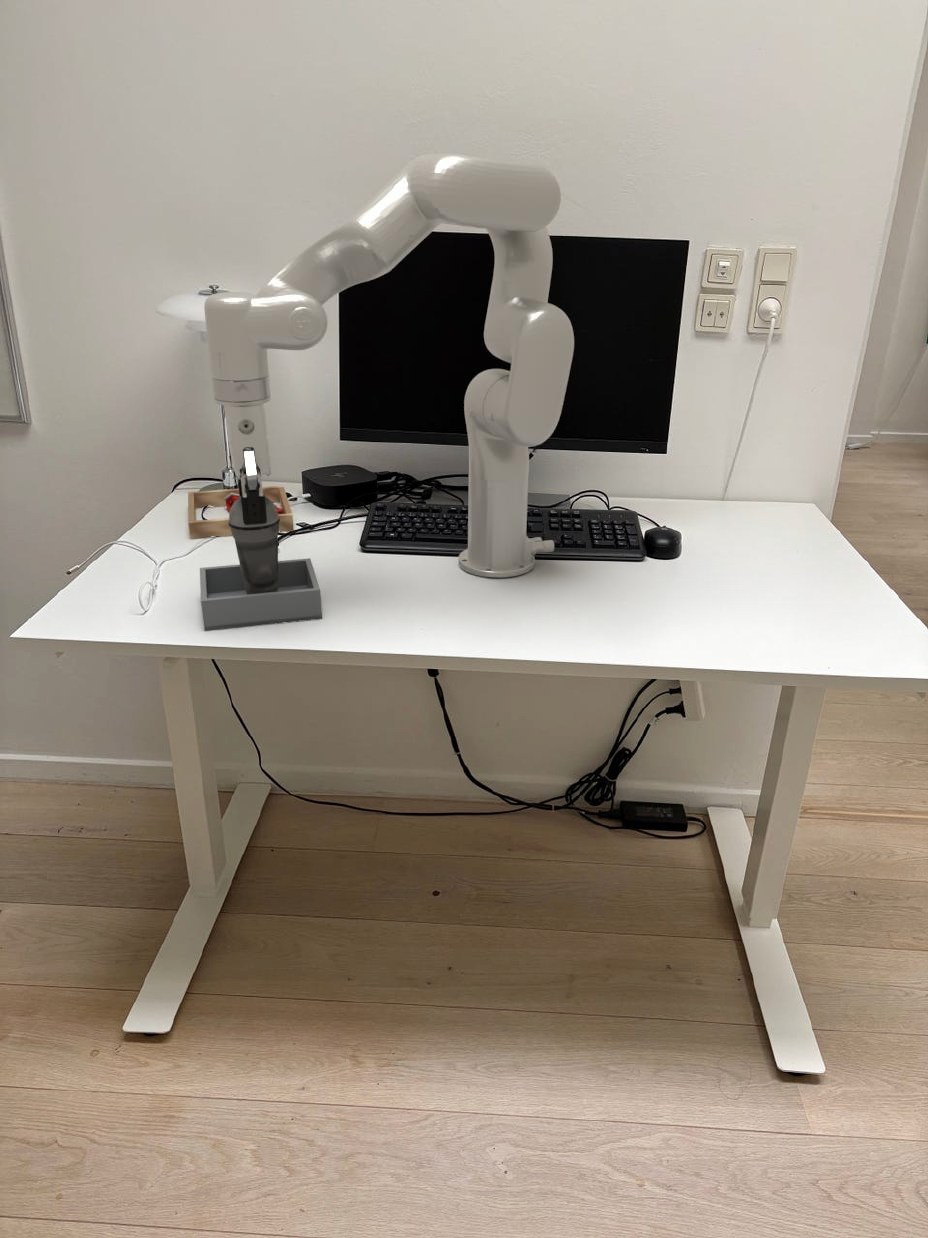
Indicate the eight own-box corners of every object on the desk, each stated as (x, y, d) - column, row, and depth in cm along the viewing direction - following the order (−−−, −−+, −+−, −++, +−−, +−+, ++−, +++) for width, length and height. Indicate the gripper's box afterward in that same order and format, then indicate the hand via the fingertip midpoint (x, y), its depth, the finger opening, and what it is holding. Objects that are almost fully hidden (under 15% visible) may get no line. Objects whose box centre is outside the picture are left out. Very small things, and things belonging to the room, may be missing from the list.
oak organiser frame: (284, 500, 189) (283, 485, 187) (293, 530, 173) (292, 515, 172) (189, 507, 184) (188, 492, 183) (190, 539, 169) (188, 522, 167)
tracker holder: (289, 503, 184) (277, 508, 174) (284, 526, 185) (272, 531, 175) (227, 487, 184) (212, 491, 174) (223, 510, 185) (207, 514, 175)
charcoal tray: (311, 585, 151) (310, 558, 149) (322, 618, 140) (320, 589, 138) (203, 595, 147) (199, 567, 145) (204, 630, 136) (200, 601, 134)
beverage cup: (276, 606, 138) (262, 472, 130) (229, 602, 140) (212, 469, 131) (294, 586, 145) (282, 457, 136) (249, 583, 146) (234, 455, 138)
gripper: (275, 402, 123) (285, 532, 130) (265, 375, 138) (275, 493, 145) (214, 405, 121) (229, 537, 129) (211, 378, 136) (224, 497, 144)
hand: (253, 513), depth 137 cm, fingers open, 7 cm apart
